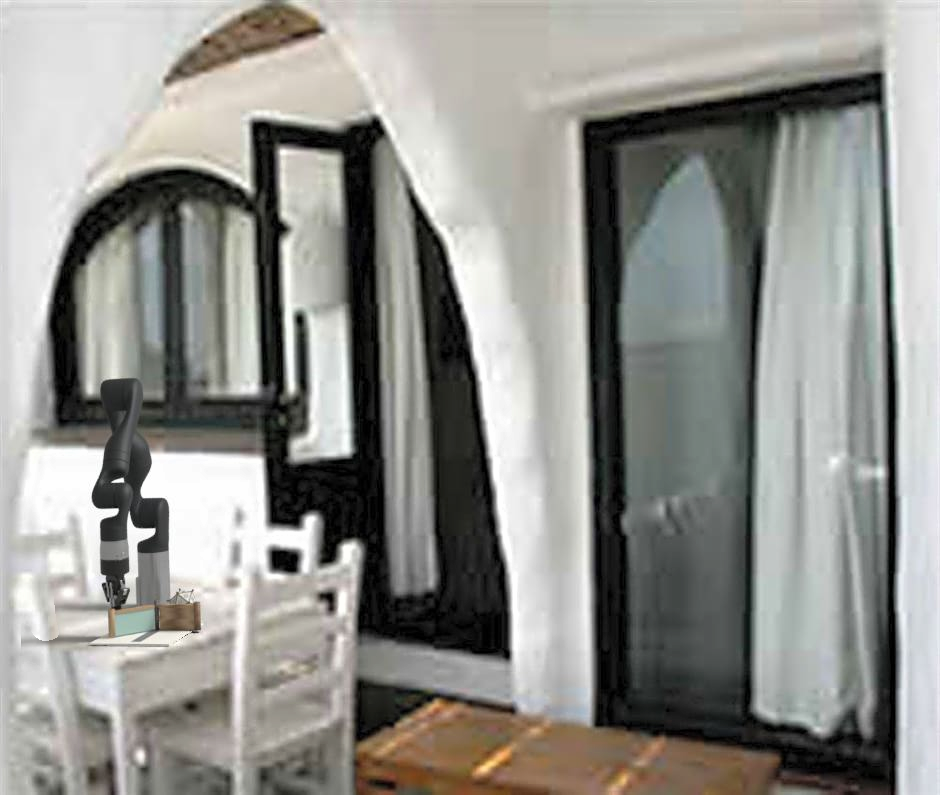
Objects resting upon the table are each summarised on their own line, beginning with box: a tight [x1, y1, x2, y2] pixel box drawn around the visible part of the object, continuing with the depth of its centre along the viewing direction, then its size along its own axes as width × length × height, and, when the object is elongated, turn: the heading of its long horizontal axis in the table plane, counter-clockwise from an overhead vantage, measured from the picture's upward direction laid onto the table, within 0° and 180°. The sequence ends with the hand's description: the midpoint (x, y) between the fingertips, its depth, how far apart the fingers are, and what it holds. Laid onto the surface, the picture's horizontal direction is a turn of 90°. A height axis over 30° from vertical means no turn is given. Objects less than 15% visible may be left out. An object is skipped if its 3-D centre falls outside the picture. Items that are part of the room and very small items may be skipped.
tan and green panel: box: [107, 604, 155, 637], centre depth 316 cm, size 13×2×7 cm, turn 130°
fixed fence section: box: [154, 600, 202, 632], centre depth 319 cm, size 13×2×8 cm, turn 82°
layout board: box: [88, 622, 204, 647], centre depth 317 cm, size 24×24×1 cm
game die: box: [166, 588, 202, 607], centre depth 339 cm, size 9×8×10 cm
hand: (116, 619), depth 316 cm, fingers closed
